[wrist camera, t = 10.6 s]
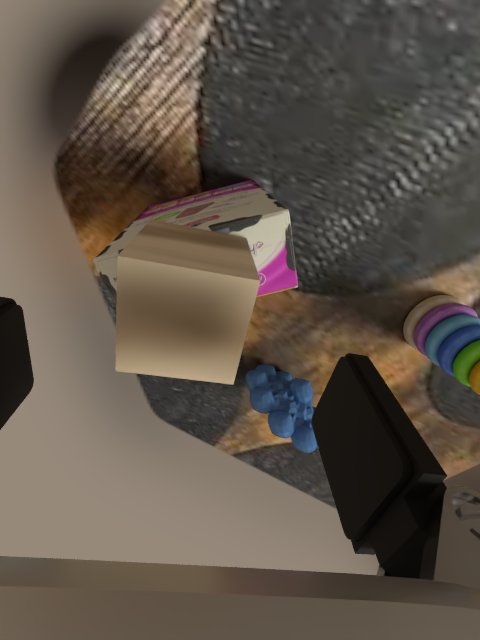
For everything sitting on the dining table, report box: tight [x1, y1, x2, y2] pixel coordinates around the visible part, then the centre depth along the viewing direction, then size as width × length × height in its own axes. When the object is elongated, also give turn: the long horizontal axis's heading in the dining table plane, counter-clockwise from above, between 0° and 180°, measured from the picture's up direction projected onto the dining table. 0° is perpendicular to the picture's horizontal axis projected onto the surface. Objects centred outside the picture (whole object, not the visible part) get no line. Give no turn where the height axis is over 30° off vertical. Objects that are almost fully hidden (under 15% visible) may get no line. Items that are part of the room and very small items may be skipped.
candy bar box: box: [93, 180, 298, 305], centre depth 24 cm, size 11×5×16 cm, turn 103°
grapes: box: [246, 364, 319, 453], centre depth 37 cm, size 12×7×12 cm, turn 57°
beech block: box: [116, 219, 260, 384], centre depth 14 cm, size 5×5×6 cm
